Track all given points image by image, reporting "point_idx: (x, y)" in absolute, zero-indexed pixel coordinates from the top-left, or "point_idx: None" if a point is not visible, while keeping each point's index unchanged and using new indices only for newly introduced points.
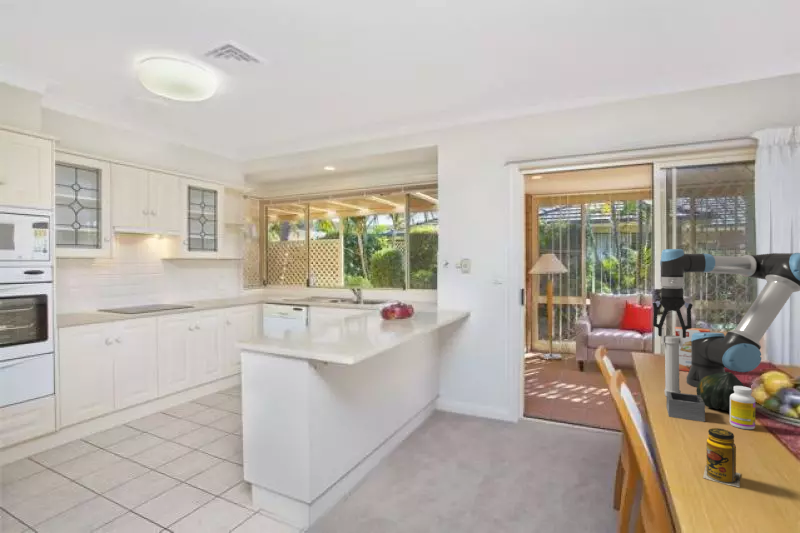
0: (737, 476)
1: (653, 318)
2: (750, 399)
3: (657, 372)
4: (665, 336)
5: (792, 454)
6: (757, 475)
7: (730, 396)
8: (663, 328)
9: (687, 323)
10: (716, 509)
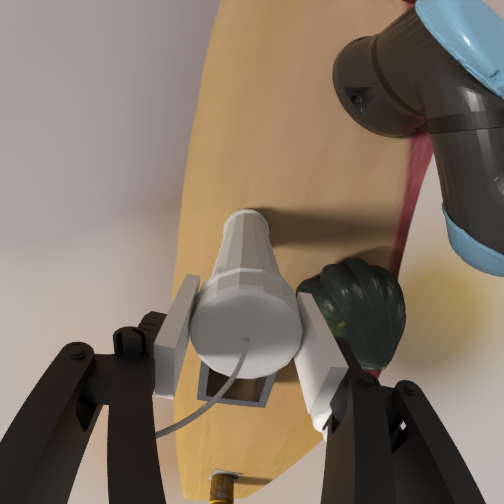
0: (237, 476)
1: (36, 412)
2: None
3: None
4: (197, 346)
5: None
6: (257, 472)
7: (314, 421)
8: (170, 373)
9: (405, 420)
10: (205, 494)
